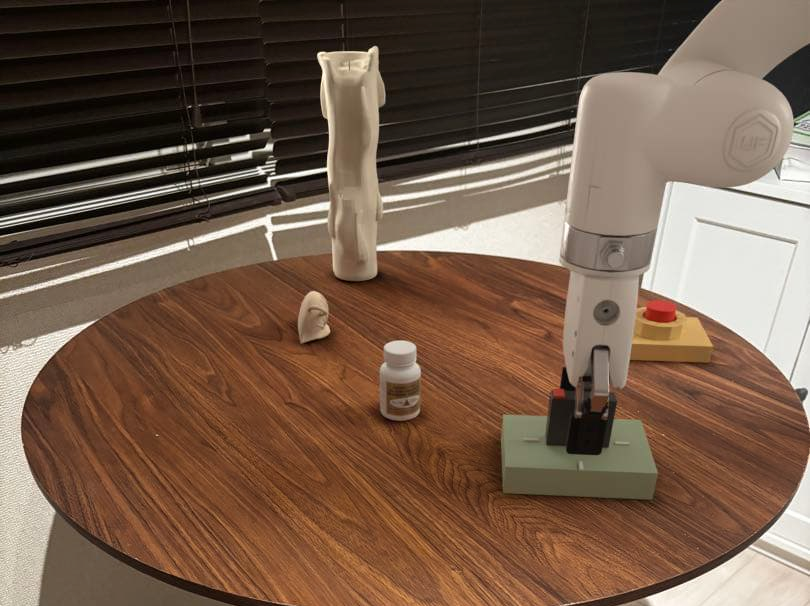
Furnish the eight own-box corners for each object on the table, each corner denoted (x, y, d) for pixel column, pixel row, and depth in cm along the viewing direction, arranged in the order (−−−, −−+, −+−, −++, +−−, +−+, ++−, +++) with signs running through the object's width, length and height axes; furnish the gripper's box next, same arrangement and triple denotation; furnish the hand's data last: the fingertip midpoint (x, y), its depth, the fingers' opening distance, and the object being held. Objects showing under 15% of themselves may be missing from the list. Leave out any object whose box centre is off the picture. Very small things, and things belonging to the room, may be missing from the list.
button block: (693, 333, 107) (700, 303, 104) (709, 363, 100) (716, 332, 97) (602, 330, 107) (606, 300, 105) (610, 359, 100) (616, 328, 98)
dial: (606, 438, 79) (615, 389, 76) (608, 447, 78) (617, 398, 75) (544, 435, 80) (551, 387, 76) (546, 445, 78) (552, 396, 75)
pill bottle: (389, 425, 87) (389, 358, 82) (374, 407, 90) (372, 342, 86) (426, 417, 89) (428, 351, 84) (410, 399, 92) (410, 335, 87)
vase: (392, 270, 125) (391, 44, 107) (371, 289, 119) (365, 52, 100) (342, 263, 127) (332, 41, 109) (318, 281, 121) (303, 48, 103)
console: (635, 444, 84) (641, 417, 82) (652, 500, 76) (658, 472, 74) (500, 439, 85) (503, 412, 83) (503, 493, 77) (505, 465, 75)
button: (671, 314, 103) (673, 300, 102) (676, 325, 100) (679, 311, 99) (642, 313, 103) (644, 299, 102) (646, 324, 100) (649, 310, 99)
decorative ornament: (328, 321, 109) (326, 282, 106) (331, 347, 103) (329, 306, 100) (298, 322, 109) (295, 283, 106) (299, 348, 102) (296, 308, 99)
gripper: (672, 284, 60) (631, 479, 71) (636, 215, 74) (606, 388, 84) (570, 281, 61) (544, 475, 71) (553, 213, 74) (534, 385, 85)
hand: (578, 427), depth 78 cm, fingers open, 8 cm apart
